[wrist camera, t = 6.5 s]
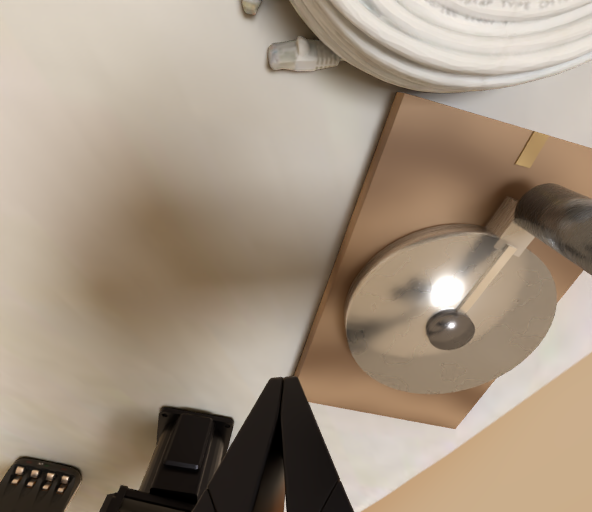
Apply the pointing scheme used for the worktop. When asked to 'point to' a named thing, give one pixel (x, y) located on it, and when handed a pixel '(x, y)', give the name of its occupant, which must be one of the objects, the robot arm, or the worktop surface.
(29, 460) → the battery charger
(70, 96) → the worktop surface
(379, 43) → the cable
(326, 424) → the worktop surface
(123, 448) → the worktop surface
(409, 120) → the board
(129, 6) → the worktop surface
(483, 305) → the metal disc with handle
